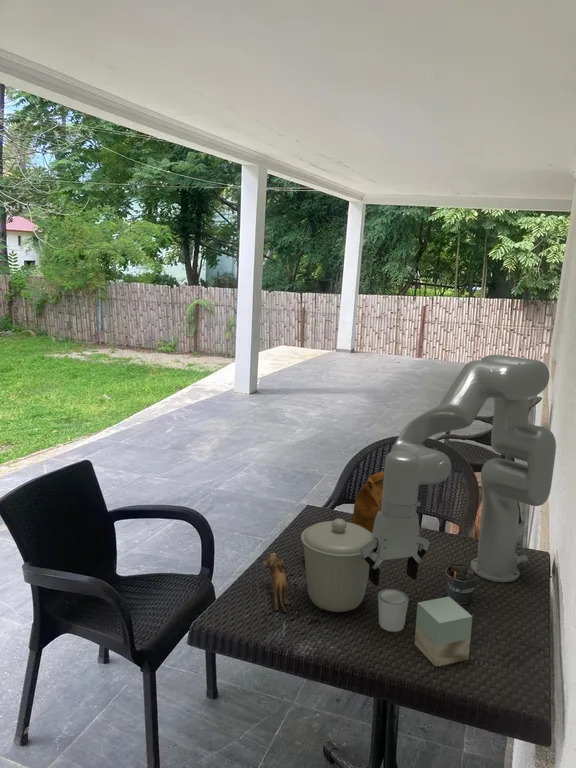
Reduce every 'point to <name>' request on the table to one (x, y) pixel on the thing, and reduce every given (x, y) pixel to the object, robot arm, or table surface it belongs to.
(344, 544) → the canister
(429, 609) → the tower top
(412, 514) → the robot arm
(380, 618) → the shot glass
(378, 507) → the coffee package
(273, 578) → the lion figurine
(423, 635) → the tower base
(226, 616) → the table surface
